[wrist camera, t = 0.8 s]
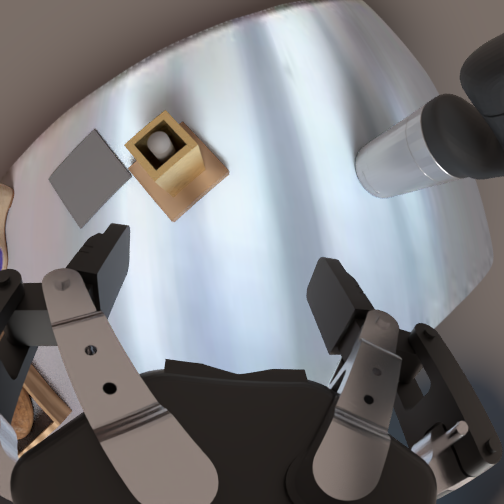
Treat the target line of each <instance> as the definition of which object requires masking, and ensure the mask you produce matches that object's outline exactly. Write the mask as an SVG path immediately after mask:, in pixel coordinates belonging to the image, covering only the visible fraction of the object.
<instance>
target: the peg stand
mask: <svg viewBox="0 0 504 504" xmlns="http://www.w3.org/2000/svg"><path fill="white" fill-rule="evenodd" d="M179 125H180V126H181V127H182V128H183V129H184V130H185V131H186V132H187V133H188V134H189V135H190V136H191V138H192V139H193V140H194V141H195V142H196V143H197V144H198V146H199V149H200V153H201V156H202V159H203V163H204V166H205V169H206V170H205V171H204V172H202V173H201V174H200V175H199V176H198V177H196V178H195V179H194V180H193V181H192V182H191V183H190V184H188V185H187V186H186V187H185V188H184V189H183V190H182V191H180V192H179V193H178V194H177V195H176V196H175V197H174V198H173V197H172V196H171V195H170V194H169V193H168V192H166V191H165V190H164V189H163V188H162V187H160V186H159V185H158V184H157V183H156V182H155V181H154V180H153V179H152V178H151V177H150V176H149V174H148V173H147V172H146V171H145V170H144V168H143V167H142V166H141V165H140V164H139V162H138V161H136V162H135V163H133V164H132V165H131V166H130V167H129V168H128V169H129V170H130V172H131V173H132V174H133V175H134V177H135V178H136V179H137V180H138V181H139V183H140V184H141V185H142V186H143V188H144V189H145V190H146V191H147V192H148V194H149V195H150V196H151V197H152V198H153V200H154V201H155V202H156V203H157V204H158V206H159V207H160V208H161V209H162V210H163V211H164V213H165V214H166V215H167V216H168V217H169V218H170V220H171V221H173V222H175V221H176V220H177V219H179V218H180V217H181V216H182V215H183V214H184V213H185V212H186V211H187V210H189V209H190V208H191V207H192V206H193V205H194V204H195V203H196V202H198V201H199V200H200V199H201V198H202V197H203V196H204V195H206V194H207V193H208V192H209V191H210V190H211V189H212V188H214V187H215V186H216V185H217V184H218V183H219V182H221V181H222V180H223V179H224V178H225V177H227V176H228V175H229V170H228V169H227V168H226V167H225V166H224V165H223V164H222V163H221V162H220V160H219V159H218V158H217V157H216V156H215V155H214V154H213V153H212V152H211V151H210V150H209V149H208V148H207V147H206V145H205V144H204V143H203V142H202V141H201V140H200V139H199V138H198V137H197V136H196V135H195V134H194V133H193V132H192V131H191V130H190V129H189V127H188V126H187V125H186V124H185V123H184V122H181V123H180V124H179ZM147 145H148V148H149V149H150V150H151V152H152V153H153V154H154V155H155V156H156V158H157V159H158V160H159V161H160V162H161V165H160V166H159V167H158V168H157V169H159V168H160V167H161V166H162V165H163V164H164V163H165V162H167V161H168V160H169V159H170V158H171V157H172V156H174V155H175V154H176V153H177V152H178V151H179V149H178V150H177V151H176V150H175V148H174V146H173V145H172V143H171V141H170V139H169V137H168V136H167V134H166V133H164V132H160V131H159V132H155V133H153V134H152V135H151V136H150V137H149V139H148V141H147Z"/></svg>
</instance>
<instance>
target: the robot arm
mask: <svg viewBox="0 0 504 504" xmlns="http://www.w3.org/2000/svg"><path fill="white" fill-rule="evenodd" d="M460 81H461V85H462V88H463V89H464V91H465V93H466V94H467V96H468V97H469V99H470V100H471V102H472V103H473V105H474V106H475V107H474V106H473V105H471V104H470V103H468V102H467V101H466V100H464V99H462V98H461V97H458V96H456V95H453V94H443V95H439V96H437V97H435V98H434V99H432V100H431V101H429V102H428V103H427V104H425V105H424V106H422V107H421V108H419V109H418V110H416V111H415V112H413V113H412V114H410V115H409V116H407V117H406V118H404V119H403V120H401V121H400V122H398V123H397V124H396V125H394V126H393V127H391V128H390V129H388V130H387V131H385V132H384V133H382V134H381V135H379V136H378V137H376V138H375V139H373V140H372V141H370V142H369V143H368V144H366V145H365V146H363V147H362V148H361V149H360V151H359V152H358V154H357V157H356V163H355V166H356V173H357V176H358V179H359V181H360V183H361V184H362V186H363V187H364V188H365V189H366V190H367V191H368V192H369V193H370V194H372V195H374V196H376V197H378V198H390V197H394V196H398V195H402V194H406V193H409V192H413V191H417V190H421V189H425V188H428V187H432V186H436V185H440V184H444V183H448V182H451V181H455V180H459V179H463V178H466V177H470V178H473V179H489V178H495V177H502V176H504V33H503V34H501V35H499V36H497V37H495V38H494V39H492V40H490V41H488V42H486V43H485V44H483V45H482V46H480V47H479V48H478V49H477V50H476V51H474V52H473V53H472V54H471V55H470V56H469V57H468V58H467V59H466V61H465V62H464V64H463V66H462V68H461V71H460ZM129 249H130V227H129V226H127V225H121V224H114V223H111V224H110V226H109V227H108V228H107V229H106V231H105V232H104V233H103V234H101V233H97V234H96V235H94V236H92V237H90V238H89V239H88V240H87V241H86V242H85V244H84V245H83V246H82V247H81V249H80V250H79V252H77V254H76V255H75V256H74V258H73V259H72V260H71V261H70V263H69V264H68V265H67V267H66V268H61V269H56V270H53V271H51V272H49V273H48V274H47V275H46V276H45V277H44V278H43V280H42V283H23V282H22V278H21V275H20V273H19V272H18V271H16V270H13V269H4V270H0V335H1V334H2V332H3V331H4V334H3V336H2V338H1V340H0V495H1V496H2V497H4V498H6V499H8V500H10V501H12V502H13V504H436V499H438V498H440V497H442V496H444V495H446V494H448V493H450V492H452V491H454V490H455V489H457V488H459V487H461V486H462V485H464V484H466V483H467V482H469V481H471V480H472V479H474V478H476V477H477V476H479V475H480V474H482V473H483V472H485V471H486V470H488V469H489V468H491V467H492V466H493V465H495V464H496V463H497V462H499V460H500V459H501V456H502V445H501V442H500V440H499V438H498V436H497V433H496V432H495V429H494V427H493V425H492V423H491V421H490V419H489V417H488V415H487V413H486V412H485V410H484V408H483V406H482V404H481V402H480V400H479V399H478V397H477V395H476V393H475V391H474V390H473V388H472V386H471V384H470V383H469V381H468V379H467V378H466V376H465V374H464V373H463V371H462V369H461V368H460V366H459V364H458V363H457V361H456V360H455V358H454V356H453V355H452V353H451V352H450V350H449V349H448V347H447V346H446V344H445V343H444V341H443V340H442V338H441V337H440V335H439V334H438V332H437V331H436V330H434V329H433V328H432V327H430V326H429V325H426V324H423V323H419V324H416V326H415V327H414V329H413V330H412V332H408V331H404V330H401V329H399V325H398V323H397V321H396V320H395V319H394V318H393V317H392V316H391V315H389V314H387V313H386V312H383V311H380V310H375V309H374V307H373V306H372V304H371V303H370V301H369V300H368V298H367V297H366V295H365V294H364V293H363V291H362V289H361V288H360V287H359V285H358V283H357V282H356V280H355V279H354V278H353V277H352V276H351V275H350V274H348V273H347V272H346V271H345V269H344V268H343V266H342V265H341V263H340V262H339V260H337V259H331V258H325V257H321V258H320V259H319V260H318V262H317V265H316V267H315V270H314V272H313V275H312V278H311V280H310V283H309V285H308V288H307V301H308V303H309V306H310V308H311V311H312V313H313V315H314V318H315V320H316V323H317V325H318V328H319V330H320V333H321V335H322V338H323V340H324V343H325V345H326V348H327V350H328V353H329V355H341V356H342V357H341V359H340V360H339V362H338V364H337V366H336V368H335V370H334V372H333V374H332V376H331V378H330V381H329V383H328V385H327V387H326V386H324V385H322V384H320V383H317V382H314V381H311V380H307V377H306V373H305V370H293V369H270V370H265V371H259V372H253V373H246V374H235V373H231V372H228V371H224V370H221V369H217V368H214V367H211V366H207V365H204V364H200V363H192V362H184V361H176V360H169V359H166V361H165V369H161V370H153V371H148V372H145V373H141V374H139V373H138V372H137V370H136V369H135V367H134V365H133V364H132V362H131V361H130V359H129V357H128V356H127V354H126V352H125V351H124V349H123V347H122V345H121V344H120V342H119V340H118V338H117V337H116V335H115V333H114V331H113V329H112V328H111V326H110V324H109V322H108V320H107V319H108V317H109V314H110V312H111V309H112V307H113V305H114V302H115V300H116V298H117V295H118V293H119V291H120V288H121V286H122V284H123V282H124V279H125V277H126V275H127V272H128V267H129ZM38 346H58V348H59V351H60V354H61V357H62V360H63V362H64V365H65V368H66V371H67V373H68V376H69V378H70V381H71V383H72V386H73V388H74V391H75V393H76V395H77V398H78V400H79V402H80V404H81V406H82V409H83V411H84V412H83V413H81V414H80V415H78V416H77V417H76V418H74V419H73V420H71V421H70V422H68V423H67V424H66V425H64V426H63V427H61V428H60V429H59V430H57V431H56V432H54V433H53V434H51V435H50V436H48V437H47V438H46V439H44V440H43V441H41V442H40V443H38V444H37V445H35V446H34V447H32V448H31V449H29V450H28V451H27V452H25V453H24V454H23V455H22V456H21V457H20V458H18V450H17V443H18V442H17V436H16V433H15V431H14V429H13V427H12V426H11V422H12V418H13V415H14V411H15V408H16V405H17V402H18V399H19V396H20V393H21V390H22V387H23V384H24V381H25V379H26V376H27V373H28V371H29V368H30V365H31V363H32V360H33V358H34V356H35V353H36V351H37V348H38ZM423 367H424V369H425V371H426V373H427V375H428V376H429V379H430V381H431V387H430V390H429V392H428V393H427V394H426V395H425V396H423V394H422V392H421V390H420V388H419V386H418V384H417V382H416V380H415V376H416V375H417V374H418V373H419V372H420V371H421V369H422V368H423ZM393 407H394V409H395V412H396V415H397V417H398V420H399V422H400V425H401V428H402V430H403V433H404V435H405V438H406V441H407V444H408V447H409V448H407V447H406V446H404V445H403V444H402V443H400V442H399V441H398V440H396V439H395V438H394V437H392V436H391V435H390V434H388V427H389V423H390V418H391V415H392V410H393Z"/></svg>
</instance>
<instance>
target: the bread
mask: <svg viewBox="0 0 504 504" xmlns="http://www.w3.org/2000/svg"><path fill="white" fill-rule="evenodd" d="M33 414H34V413H33V408H32V404H31V401H30V398H29V395H28V393H27V390H26V389H25V388H24V387H22V390H21V393H20V396H19V399H18V402H17V405H16V408H15V411H14V415H13V418H12V422H11V426H12V427H13V429H14V431H15V433H16V436H17V440H18V439H22V438H24V437H26V436H27V435H28V434H29V433H30V431H31V428H32V425H33Z"/></svg>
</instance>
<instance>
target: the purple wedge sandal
mask: <svg viewBox="0 0 504 504" xmlns="http://www.w3.org/2000/svg"><path fill="white" fill-rule="evenodd" d="M13 198H14V190H13V189H12V188H10V187H8V186H6V185H4V184H2V183H0V270H4V269H7V265H8V254H7V246H6V239H5V222H6V217H7V213H8V210H9V208H10V207H11V204H12V201H13Z"/></svg>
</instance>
